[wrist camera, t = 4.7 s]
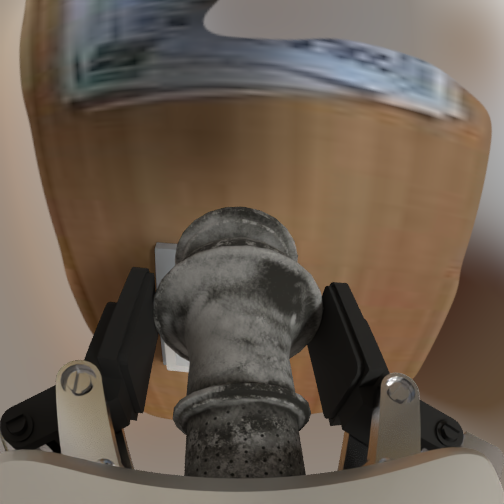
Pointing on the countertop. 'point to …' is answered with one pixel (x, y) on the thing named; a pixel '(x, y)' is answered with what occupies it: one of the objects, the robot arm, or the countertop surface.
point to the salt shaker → (239, 343)
